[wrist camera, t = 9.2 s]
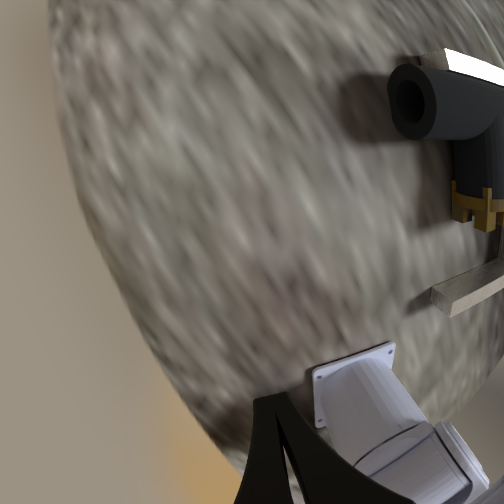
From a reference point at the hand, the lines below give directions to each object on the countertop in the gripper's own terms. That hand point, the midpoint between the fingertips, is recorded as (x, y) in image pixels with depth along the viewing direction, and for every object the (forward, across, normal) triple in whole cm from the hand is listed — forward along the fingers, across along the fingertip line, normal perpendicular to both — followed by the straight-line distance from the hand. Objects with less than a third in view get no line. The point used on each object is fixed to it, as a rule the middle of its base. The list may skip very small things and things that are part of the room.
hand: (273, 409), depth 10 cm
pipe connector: (+10, -20, -8) cm, 23 cm away
